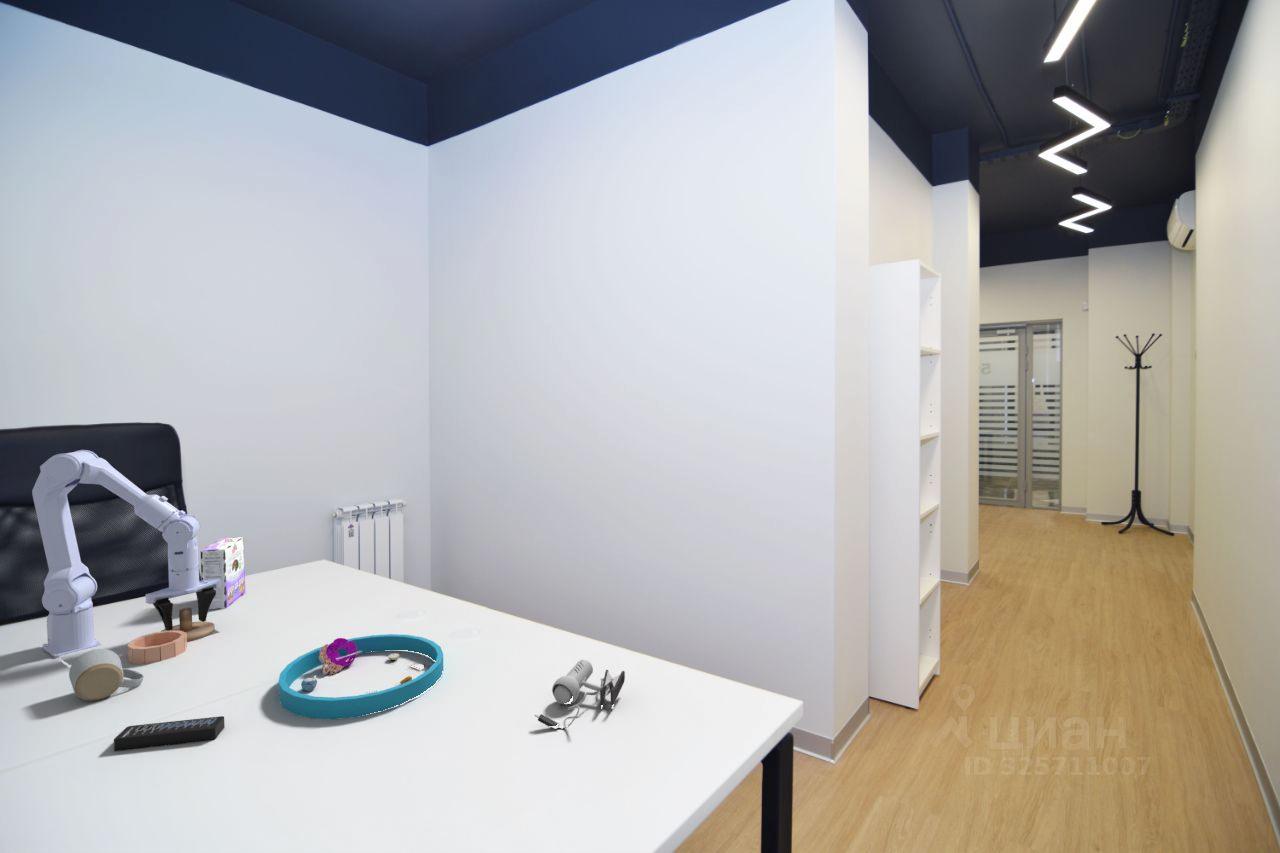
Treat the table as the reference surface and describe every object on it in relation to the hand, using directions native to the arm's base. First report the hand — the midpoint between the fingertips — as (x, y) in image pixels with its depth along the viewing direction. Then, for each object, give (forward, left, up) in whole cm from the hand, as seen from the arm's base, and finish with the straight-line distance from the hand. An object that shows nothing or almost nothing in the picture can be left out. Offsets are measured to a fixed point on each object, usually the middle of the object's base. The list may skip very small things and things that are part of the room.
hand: (185, 625), depth 147 cm
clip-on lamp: (+98, +25, -3) cm, 101 cm away
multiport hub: (+47, -20, -3) cm, 52 cm away
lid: (0, 0, -2) cm, 2 cm away
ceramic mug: (+18, -20, -3) cm, 27 cm away
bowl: (+7, -8, -3) cm, 11 cm away
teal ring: (+55, +10, -3) cm, 56 cm away
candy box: (-18, +16, -3) cm, 24 cm away
